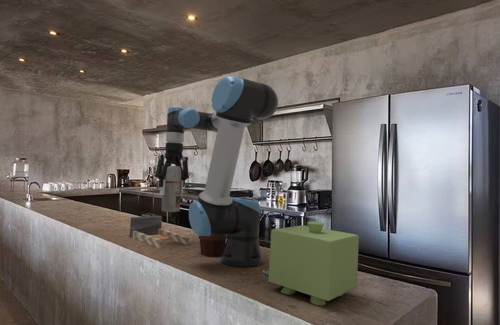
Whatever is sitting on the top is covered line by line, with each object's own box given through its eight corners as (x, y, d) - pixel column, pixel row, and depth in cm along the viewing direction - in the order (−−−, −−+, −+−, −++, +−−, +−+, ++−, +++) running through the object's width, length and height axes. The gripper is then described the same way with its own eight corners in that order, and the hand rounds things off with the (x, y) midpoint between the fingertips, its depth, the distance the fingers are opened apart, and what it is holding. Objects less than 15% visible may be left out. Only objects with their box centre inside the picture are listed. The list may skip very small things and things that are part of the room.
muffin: (193, 251, 138) (195, 226, 138) (219, 249, 143) (220, 225, 143) (203, 258, 127) (205, 231, 128) (230, 256, 133) (232, 230, 133)
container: (356, 295, 97) (359, 224, 97) (327, 310, 85) (331, 229, 85) (299, 278, 109) (302, 216, 110) (267, 289, 97) (271, 219, 98)
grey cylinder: (168, 213, 142) (172, 165, 143) (156, 211, 147) (159, 164, 148) (184, 212, 149) (187, 166, 150) (171, 210, 154) (174, 165, 155)
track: (189, 244, 149) (190, 223, 150) (159, 248, 139) (160, 226, 139) (157, 233, 169) (158, 215, 169) (129, 236, 158) (130, 217, 159)
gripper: (189, 145, 159) (186, 194, 159) (148, 140, 144) (144, 194, 144) (199, 144, 154) (196, 195, 153) (157, 140, 139) (153, 195, 138)
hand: (171, 194), depth 149 cm, fingers closed on grey cylinder, 8 cm apart
